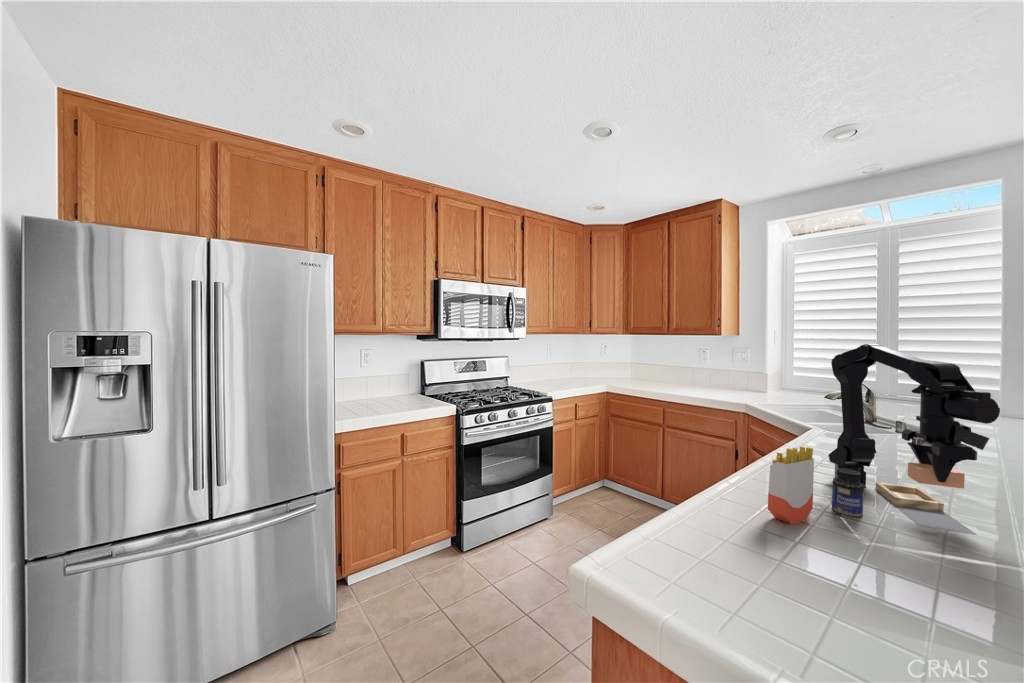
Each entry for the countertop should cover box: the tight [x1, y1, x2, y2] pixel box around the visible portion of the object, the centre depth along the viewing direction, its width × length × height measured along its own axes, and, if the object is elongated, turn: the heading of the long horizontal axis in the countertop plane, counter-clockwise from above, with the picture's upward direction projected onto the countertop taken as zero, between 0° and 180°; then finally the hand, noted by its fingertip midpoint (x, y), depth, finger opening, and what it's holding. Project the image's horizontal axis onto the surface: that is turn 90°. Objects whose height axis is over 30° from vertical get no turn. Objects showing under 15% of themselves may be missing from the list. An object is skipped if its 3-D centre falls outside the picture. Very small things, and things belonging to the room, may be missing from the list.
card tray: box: [875, 481, 945, 512], centre depth 110 cm, size 10×12×2 cm
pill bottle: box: [831, 468, 865, 519], centre depth 102 cm, size 6×6×11 cm
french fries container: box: [767, 446, 815, 525], centre depth 99 cm, size 5×11×18 cm, turn 114°
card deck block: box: [907, 461, 966, 489], centre depth 98 cm, size 8×6×4 cm
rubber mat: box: [874, 488, 978, 536], centre depth 105 cm, size 10×25×1 cm, turn 157°
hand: (934, 478), depth 98 cm, fingers closed on card deck block, 5 cm apart
